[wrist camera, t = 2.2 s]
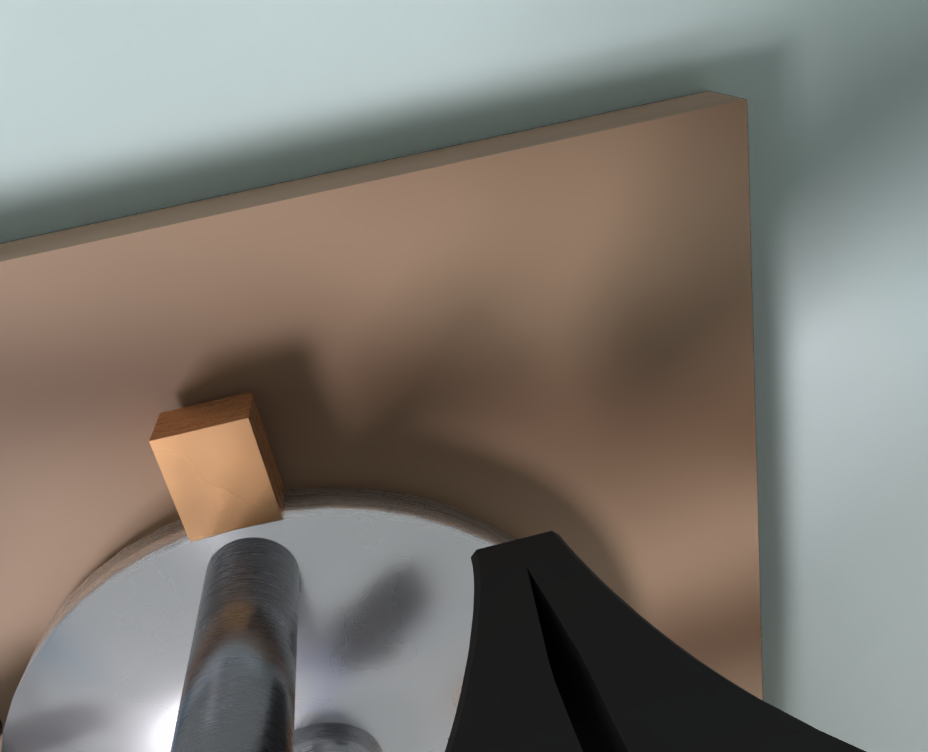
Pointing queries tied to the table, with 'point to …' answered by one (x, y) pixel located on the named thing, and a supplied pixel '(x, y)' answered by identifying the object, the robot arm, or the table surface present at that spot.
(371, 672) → the flange
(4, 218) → the table surface
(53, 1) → the table surface
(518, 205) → the base board
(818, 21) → the table surface
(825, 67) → the table surface
